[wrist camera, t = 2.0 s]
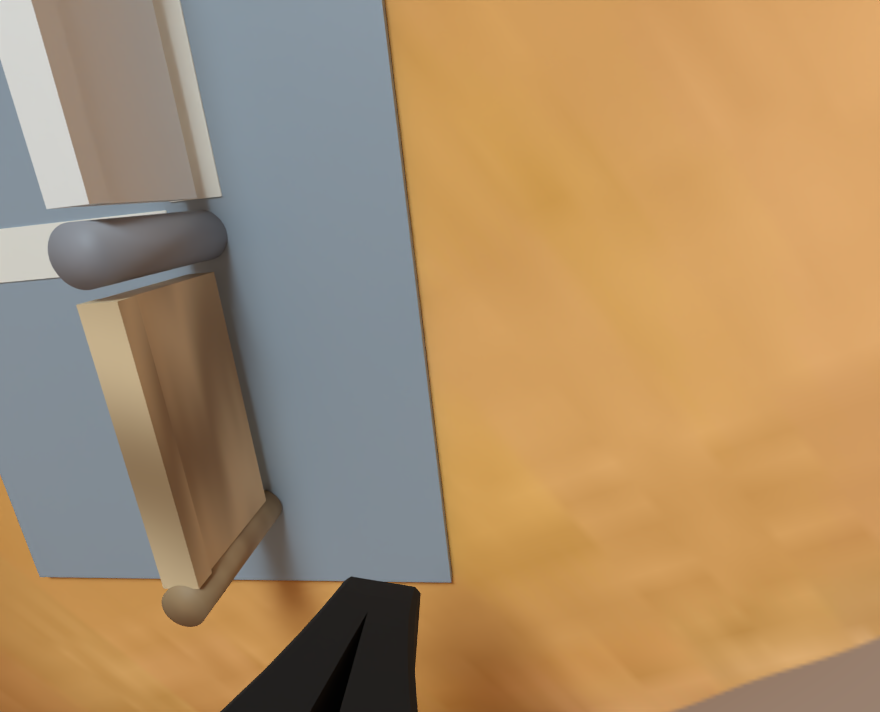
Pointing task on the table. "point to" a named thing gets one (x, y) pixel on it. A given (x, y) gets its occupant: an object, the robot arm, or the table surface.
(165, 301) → the fence panel
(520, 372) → the table surface
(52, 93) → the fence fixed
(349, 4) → the mat
